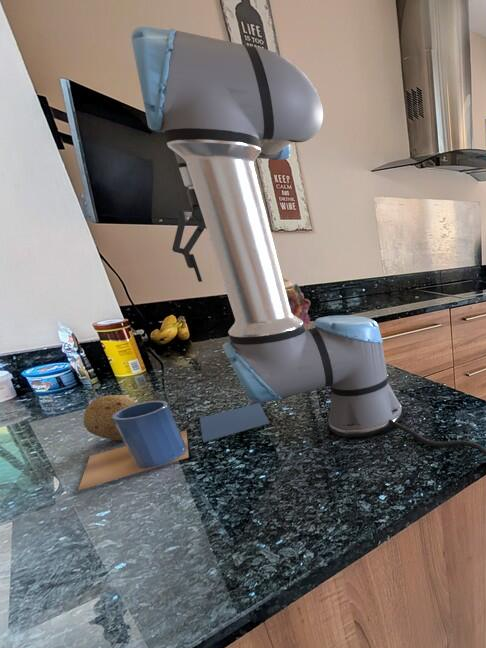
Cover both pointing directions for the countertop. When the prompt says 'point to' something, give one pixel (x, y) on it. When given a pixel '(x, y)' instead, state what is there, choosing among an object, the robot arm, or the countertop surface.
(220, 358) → the countertop surface
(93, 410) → the brown potato
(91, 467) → the cork mat
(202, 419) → the blue mat
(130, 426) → the blue cup
